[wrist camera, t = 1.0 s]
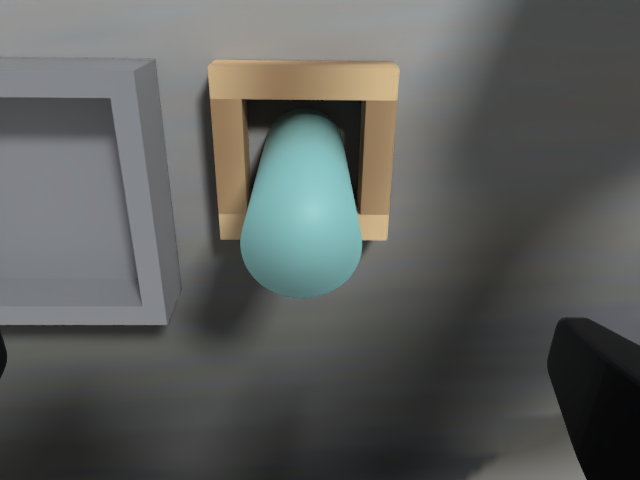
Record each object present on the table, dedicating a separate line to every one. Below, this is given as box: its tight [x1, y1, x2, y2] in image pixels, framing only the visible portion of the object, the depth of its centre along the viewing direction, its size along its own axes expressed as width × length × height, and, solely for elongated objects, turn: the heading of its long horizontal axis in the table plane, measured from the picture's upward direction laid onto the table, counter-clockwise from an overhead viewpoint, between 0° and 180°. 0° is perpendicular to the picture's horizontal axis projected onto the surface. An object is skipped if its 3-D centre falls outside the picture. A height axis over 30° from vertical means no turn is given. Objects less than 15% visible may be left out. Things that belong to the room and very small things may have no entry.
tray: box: [0, 57, 182, 325], centre depth 19 cm, size 9×9×2 cm
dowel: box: [240, 108, 362, 298], centre depth 16 cm, size 3×3×8 cm
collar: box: [208, 60, 400, 240], centre depth 19 cm, size 6×6×2 cm
